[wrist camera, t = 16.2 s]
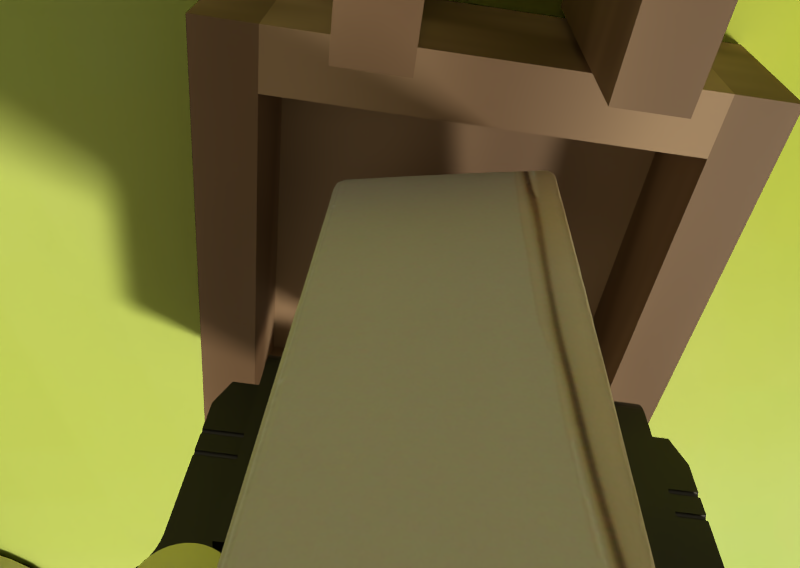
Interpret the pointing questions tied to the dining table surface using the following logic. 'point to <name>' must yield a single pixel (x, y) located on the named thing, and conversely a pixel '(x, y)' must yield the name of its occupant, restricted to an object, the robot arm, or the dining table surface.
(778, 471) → the dining table surface
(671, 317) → the dock
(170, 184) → the dining table surface
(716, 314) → the dining table surface
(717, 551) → the robot arm
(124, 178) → the dining table surface
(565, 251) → the skincare box
